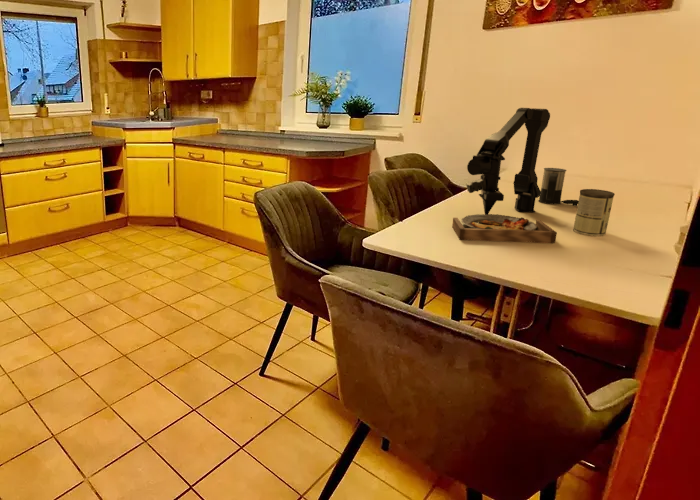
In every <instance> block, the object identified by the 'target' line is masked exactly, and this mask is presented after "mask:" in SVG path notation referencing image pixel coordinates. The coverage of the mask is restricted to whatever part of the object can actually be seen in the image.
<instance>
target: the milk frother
mask: <svg viewBox="0 0 700 500" xmlns="http://www.w3.org/2000/svg"><path fill="white" fill-rule="evenodd" d="M543 169H544V170H543V174H542V175H543V176H542V181H541V187H540V191H541V193H540V196H539V197H538V202H539V203H543V204H547V205H548V204H549V205H559V204H562V203H563V204H564V205H565V204H567V205H572V206H573V207H576V206H577V207H578V201H579V199H578V200H577V199H565V200H564V199H563V200H562V199H561V198H562V192H563V188H564V187H563V186H564V182H565V177H566V172H567V169H565V168H559V167H558V168H557V167H544V168H543Z"/></svg>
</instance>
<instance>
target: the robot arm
mask: <svg viewBox="0 0 700 500" xmlns="http://www.w3.org/2000/svg"><path fill="white" fill-rule="evenodd" d="M550 118H551V113H550V112H549V110H548V109H547V108H532V107H519V108H518V109H516V111H515V113H514V114H513V115H512V116H511V117H510V118H509V120H508V121H507V122H506V123H505V124H504V125H502V128H501V129H500V130H499V131H497V132H495V133H492V134H491V135H489V136H488V137H487V138H485V139H484V141H483V143H482V145H481V147H480V148H479V150H478V152H477V153H476V155H472V158H471V160H469V161H468V163H467V165H466V169H467V172H468V173H469V175H470V176H471V175H472V176H477V175H480V178H477V179H475V180H471V181H468V182H465V186H466V189H467V192H468V193H469V194H472V193H474V192H477V193H478V192H479V191H480V193H478V196H479V197H480V198H481V199H482V205H483V211H484V214H490V212H491V210H492V208H493V207H494V206H495V204H496V203H497V202H503V201H504V198H505V195H504V193H502V192H501V191H500V188H499V181H500V180H501V176H500V170H501V165H502V161H505V160H506V158H505V157H504V156H503V155H504V153H505V152H506V151H507V149H508V148H509V147H510V141H511V139H512V138H513V136H515V135H516V133H517V132H518V131H519V130H520V129H521V127H523V126H525V129H526V131H527V136H526V139H525V140H526V141H525V146H524V147H525V148H524V153H523V158H522V164H521V169H520V171H519V172H518V173H515V175H514V180H513V183H512V184H513V192H514V195H517V197H516V198H515V201H514V202H515V204H514V209H515V210H516V211H518V212H520V213H536V210H535V206H536V199H539V197H540V193H541V188H540V187H539V185H538V176H537V172H536V166H537V160H538V156H539V155H538V154H539V148H540V145H541V144H540V143H541V139H542V134H543V132H544V131H545V130H546V129H547V127H548V126H549V122H550Z"/></svg>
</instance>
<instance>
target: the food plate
mask: <svg viewBox="0 0 700 500" xmlns="http://www.w3.org/2000/svg"><path fill="white" fill-rule="evenodd" d="M460 219H461V221H460V222H461V224H463V225H465V226H468V227H469V228H475V229H504V230H534V231H535V229H537V226H536V222H534V221H530V219H528V218H524V217H518V216H517V217H516V216H510V215H505V214H504V215H503V214H495V213H492V214H491V213H488V214H485V213H484V214H483V213H481V214H480V213H479V214H478V213H477V214H469V215H466V216H464V217H462V218H460Z"/></svg>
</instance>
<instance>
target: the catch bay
mask: <svg viewBox="0 0 700 500" xmlns="http://www.w3.org/2000/svg"><path fill="white" fill-rule="evenodd" d="M535 224H536V226H537V229H535V230H504V229H478V228H473V227H466V228H465V226H464V224H463V223H462V221H460V220H459V218H458V217H452V225H451V227H452V229H453V231H454V233H455V234H456V236H457V238H458V240H460V241H482V242H483V241H484V242H487V241H489V242H509V243H510V242H512V243H513V242H515V243H516V242H517V243H535V244H536V243H538V244H539V243H540V244H541V243H543V244H544V243H545V244H556V240H557V234H558V233H557V231H555V230H554V229H552V228H551V227H550V226H549V225H548V224H546V223H545V222H544V221H543V220H539V219H538V220H536V221H535Z"/></svg>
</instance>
